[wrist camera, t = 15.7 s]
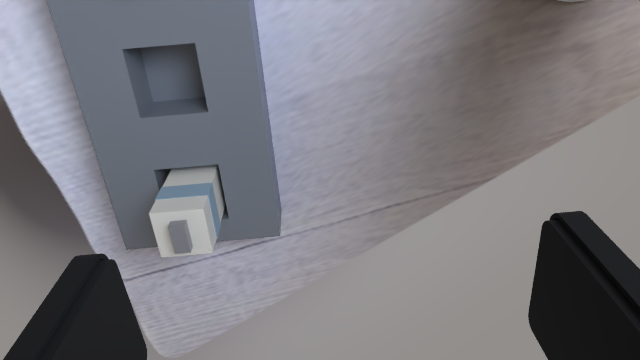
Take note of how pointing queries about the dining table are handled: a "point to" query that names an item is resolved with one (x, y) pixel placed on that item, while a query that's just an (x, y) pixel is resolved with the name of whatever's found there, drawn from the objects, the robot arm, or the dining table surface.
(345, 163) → the dining table surface
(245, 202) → the panel
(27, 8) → the dining table surface
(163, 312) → the dining table surface
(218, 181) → the plug
